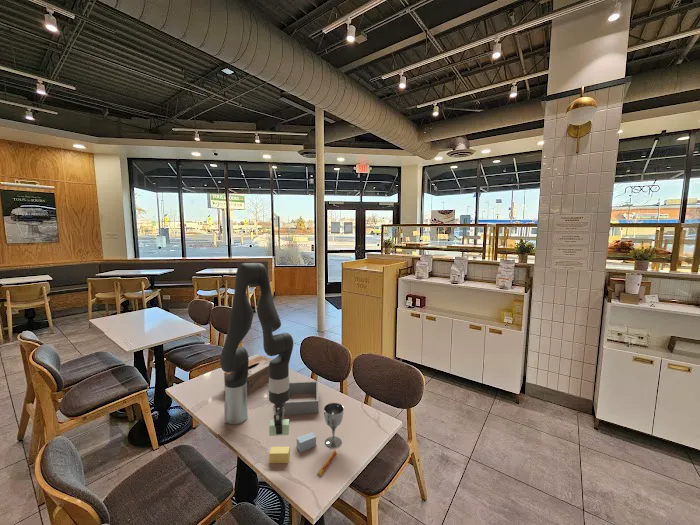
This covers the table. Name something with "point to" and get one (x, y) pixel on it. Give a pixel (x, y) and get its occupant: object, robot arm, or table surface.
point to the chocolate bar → (327, 463)
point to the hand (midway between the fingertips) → (279, 429)
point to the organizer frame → (302, 406)
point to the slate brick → (306, 441)
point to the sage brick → (284, 428)
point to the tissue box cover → (256, 373)
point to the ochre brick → (279, 454)
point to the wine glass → (333, 423)
